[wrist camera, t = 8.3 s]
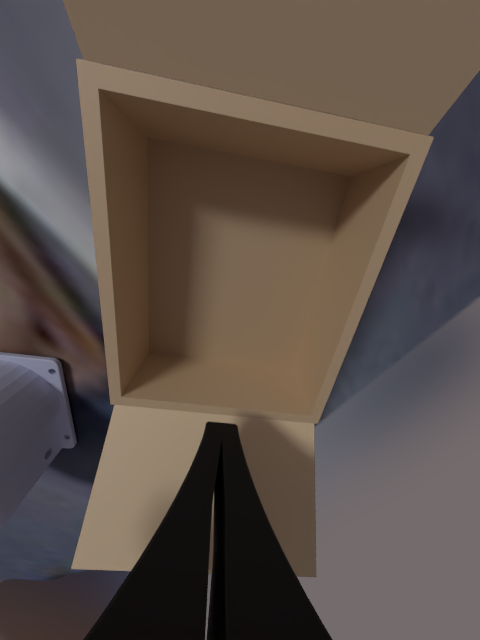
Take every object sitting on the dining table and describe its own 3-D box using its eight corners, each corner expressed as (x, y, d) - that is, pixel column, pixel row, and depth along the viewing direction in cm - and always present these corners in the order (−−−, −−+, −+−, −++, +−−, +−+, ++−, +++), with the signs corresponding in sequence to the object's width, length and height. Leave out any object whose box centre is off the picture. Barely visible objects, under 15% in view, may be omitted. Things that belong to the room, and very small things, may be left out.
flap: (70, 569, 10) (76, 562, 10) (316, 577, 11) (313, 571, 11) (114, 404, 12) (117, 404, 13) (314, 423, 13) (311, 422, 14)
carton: (296, 372, 18) (317, 424, 13) (143, 354, 17) (110, 404, 12) (359, 168, 12) (433, 136, 8) (139, 124, 11) (76, 58, 7)
